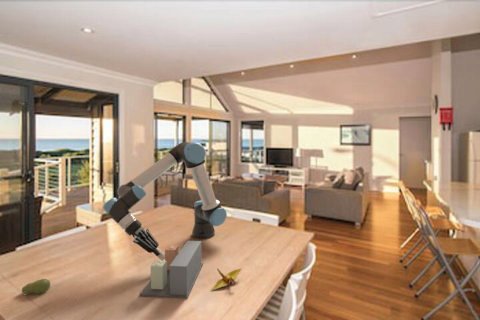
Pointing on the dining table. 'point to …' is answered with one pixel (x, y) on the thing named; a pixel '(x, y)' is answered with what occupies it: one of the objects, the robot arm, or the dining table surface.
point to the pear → (37, 286)
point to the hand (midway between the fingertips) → (164, 258)
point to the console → (180, 273)
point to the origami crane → (226, 278)
